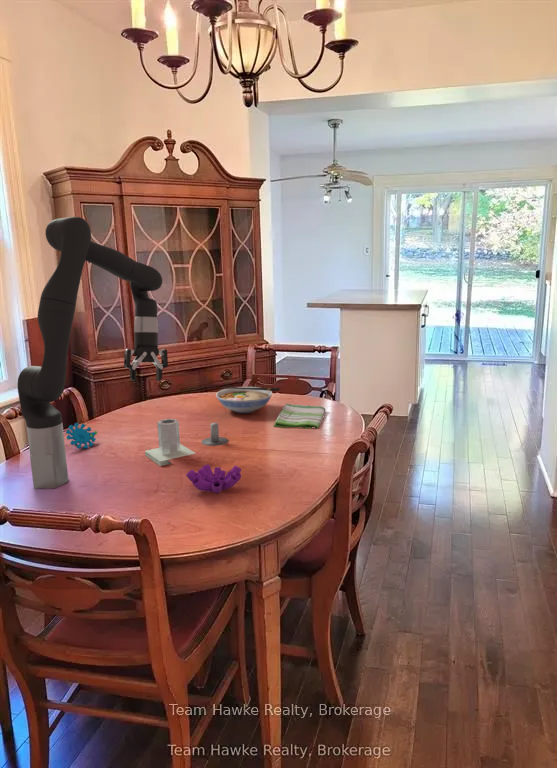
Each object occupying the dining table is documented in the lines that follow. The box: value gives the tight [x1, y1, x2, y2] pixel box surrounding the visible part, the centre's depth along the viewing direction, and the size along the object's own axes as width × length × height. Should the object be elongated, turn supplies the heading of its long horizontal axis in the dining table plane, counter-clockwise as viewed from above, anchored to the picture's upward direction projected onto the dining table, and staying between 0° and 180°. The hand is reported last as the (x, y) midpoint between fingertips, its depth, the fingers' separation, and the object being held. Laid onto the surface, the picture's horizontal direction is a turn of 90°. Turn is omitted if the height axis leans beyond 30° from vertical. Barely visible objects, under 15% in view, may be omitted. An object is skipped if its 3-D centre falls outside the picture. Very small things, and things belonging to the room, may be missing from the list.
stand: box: [200, 422, 229, 447], centre depth 192 cm, size 9×9×8 cm
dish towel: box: [273, 403, 326, 429], centre depth 221 cm, size 17×23×4 cm
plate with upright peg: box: [144, 443, 197, 467], centre depth 183 cm, size 12×12×8 cm
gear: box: [65, 422, 98, 450], centre depth 195 cm, size 11×6×10 cm
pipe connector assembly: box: [185, 464, 242, 494], centre depth 156 cm, size 11×15×10 cm
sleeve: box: [157, 418, 181, 455], centre depth 182 cm, size 6×6×10 cm
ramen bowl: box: [215, 386, 280, 414], centre depth 233 cm, size 25×23×8 cm
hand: (146, 381), depth 190 cm, fingers open, 8 cm apart
